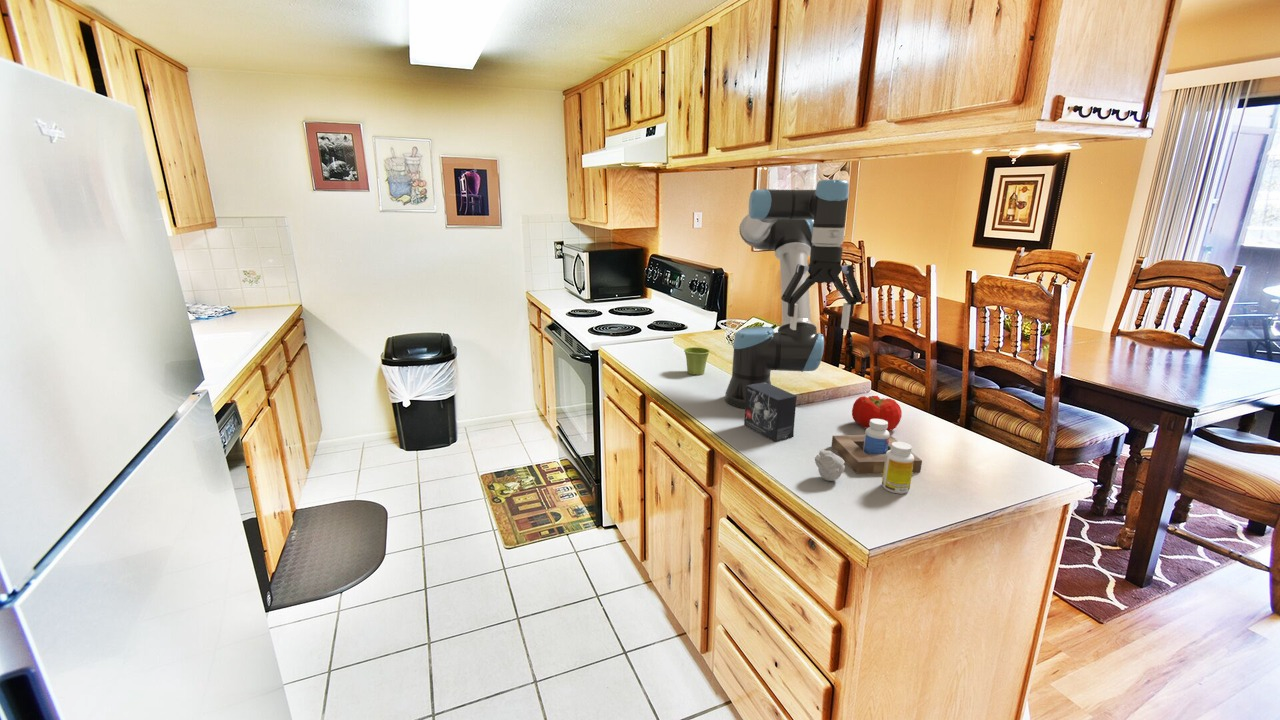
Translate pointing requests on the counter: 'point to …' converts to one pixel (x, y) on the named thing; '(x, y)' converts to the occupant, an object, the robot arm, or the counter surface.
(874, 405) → the tomato
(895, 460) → the supplement bottle
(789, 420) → the small box
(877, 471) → the walnut holder block
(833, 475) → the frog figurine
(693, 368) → the plant pot
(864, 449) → the pill bottle
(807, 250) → the robot arm
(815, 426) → the counter surface
